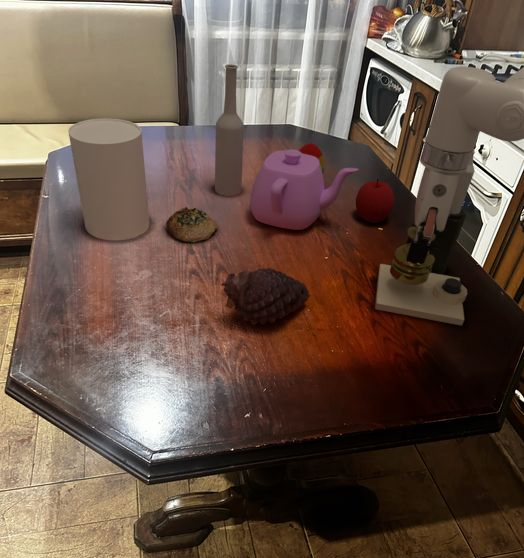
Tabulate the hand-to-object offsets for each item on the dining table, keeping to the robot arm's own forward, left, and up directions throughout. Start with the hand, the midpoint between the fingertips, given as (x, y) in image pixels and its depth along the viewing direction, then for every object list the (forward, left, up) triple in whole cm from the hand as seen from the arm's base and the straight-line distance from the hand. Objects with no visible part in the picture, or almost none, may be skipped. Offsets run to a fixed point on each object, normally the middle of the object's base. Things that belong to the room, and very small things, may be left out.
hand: (415, 252), depth 94 cm
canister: (+62, -6, -9) cm, 63 cm away
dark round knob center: (-9, 0, -7) cm, 11 cm away
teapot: (+27, -23, -9) cm, 37 cm away
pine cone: (+24, +15, -9) cm, 30 cm away
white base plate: (-3, 0, -9) cm, 10 cm away
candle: (-6, -11, -9) cm, 15 cm away
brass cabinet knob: (0, 0, -5) cm, 5 cm away
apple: (+8, -29, -9) cm, 32 cm away
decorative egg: (+26, -43, -9) cm, 51 cm away
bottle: (+44, -31, -9) cm, 55 cm away
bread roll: (+46, -9, -9) cm, 48 cm away
